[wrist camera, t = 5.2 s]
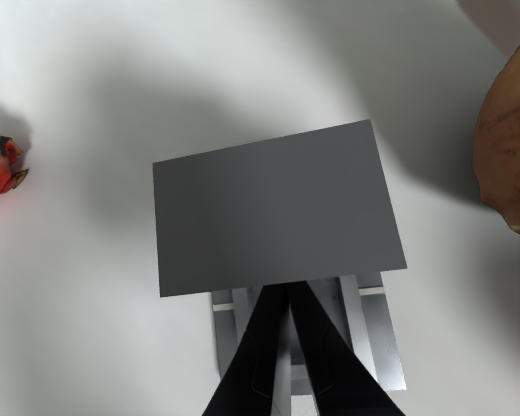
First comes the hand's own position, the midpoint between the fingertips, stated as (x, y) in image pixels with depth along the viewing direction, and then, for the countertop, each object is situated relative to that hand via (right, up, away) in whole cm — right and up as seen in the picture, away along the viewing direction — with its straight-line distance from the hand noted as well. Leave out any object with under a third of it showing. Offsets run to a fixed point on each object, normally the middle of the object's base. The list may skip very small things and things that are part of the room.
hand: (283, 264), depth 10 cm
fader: (+1, +1, +6) cm, 6 cm away
